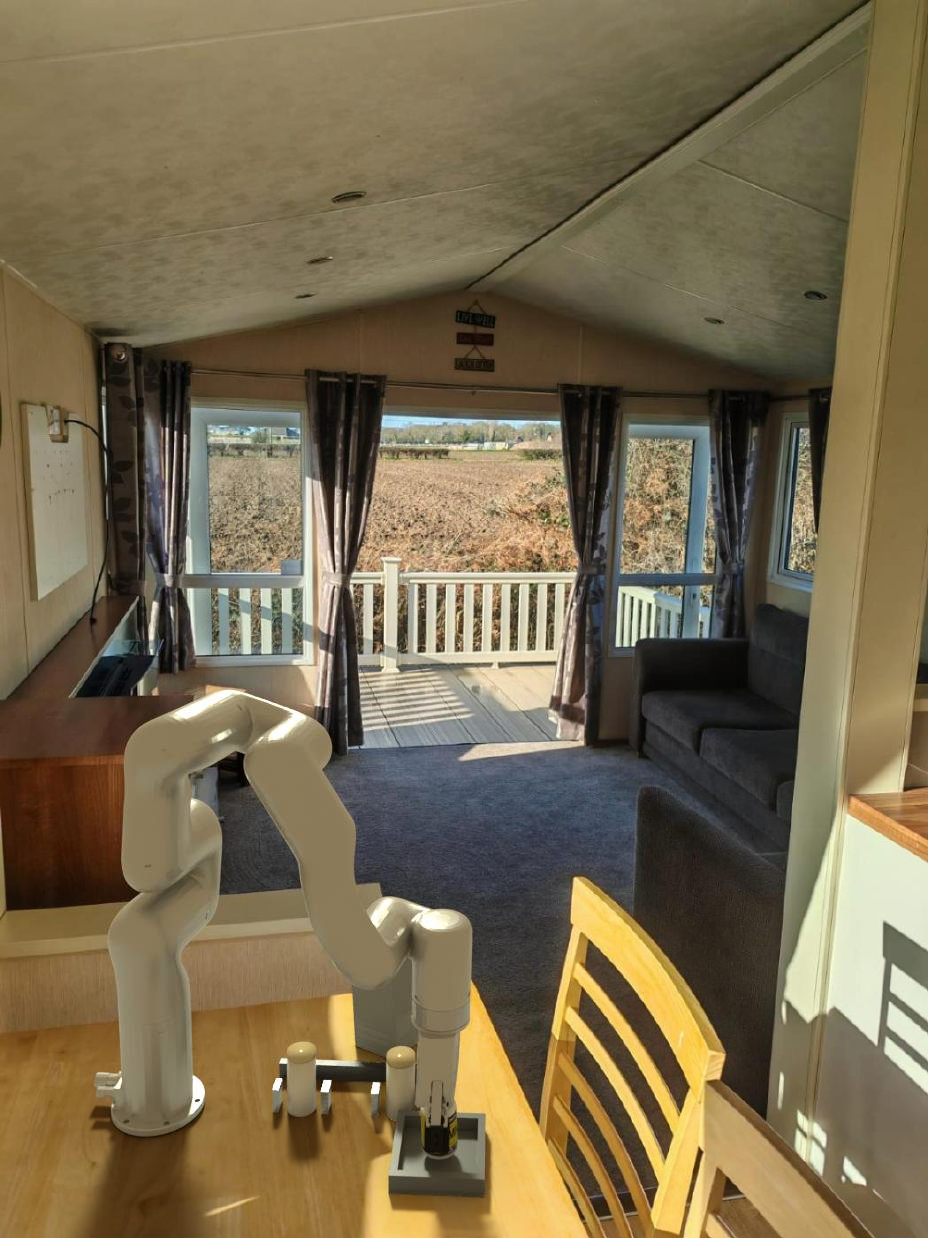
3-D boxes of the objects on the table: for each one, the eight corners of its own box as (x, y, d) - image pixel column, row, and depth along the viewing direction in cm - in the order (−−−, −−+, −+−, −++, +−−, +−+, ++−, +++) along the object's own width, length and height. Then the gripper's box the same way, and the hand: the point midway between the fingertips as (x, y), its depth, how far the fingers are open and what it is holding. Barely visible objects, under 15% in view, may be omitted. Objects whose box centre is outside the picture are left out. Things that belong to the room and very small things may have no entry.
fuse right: (384, 1121, 131) (384, 1063, 129) (387, 1101, 135) (388, 1045, 133) (413, 1122, 131) (414, 1064, 129) (415, 1102, 135) (416, 1046, 133)
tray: (388, 1193, 118) (388, 1175, 118) (398, 1126, 130) (398, 1110, 129) (484, 1197, 118) (484, 1179, 117) (485, 1130, 130) (485, 1113, 129)
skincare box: (419, 1043, 148) (420, 950, 146) (392, 1067, 143) (393, 970, 140) (377, 1025, 153) (377, 934, 150) (348, 1047, 147) (348, 953, 144)
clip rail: (267, 1112, 132) (267, 1089, 132) (281, 1073, 140) (281, 1052, 140) (431, 1118, 132) (432, 1096, 131) (435, 1079, 140) (435, 1058, 139)
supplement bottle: (453, 1163, 121) (451, 1104, 119) (417, 1158, 122) (415, 1100, 120) (461, 1137, 125) (459, 1080, 124) (426, 1132, 126) (424, 1076, 125)
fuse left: (284, 1116, 131) (284, 1058, 130) (290, 1098, 135) (290, 1041, 134) (313, 1117, 131) (313, 1059, 130) (317, 1098, 135) (318, 1042, 134)
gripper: (416, 971, 129) (414, 1091, 132) (405, 1048, 112) (403, 1184, 115) (471, 973, 128) (468, 1094, 132) (468, 1050, 112) (464, 1187, 115)
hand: (438, 1134), depth 123 cm, fingers closed on supplement bottle, 4 cm apart
